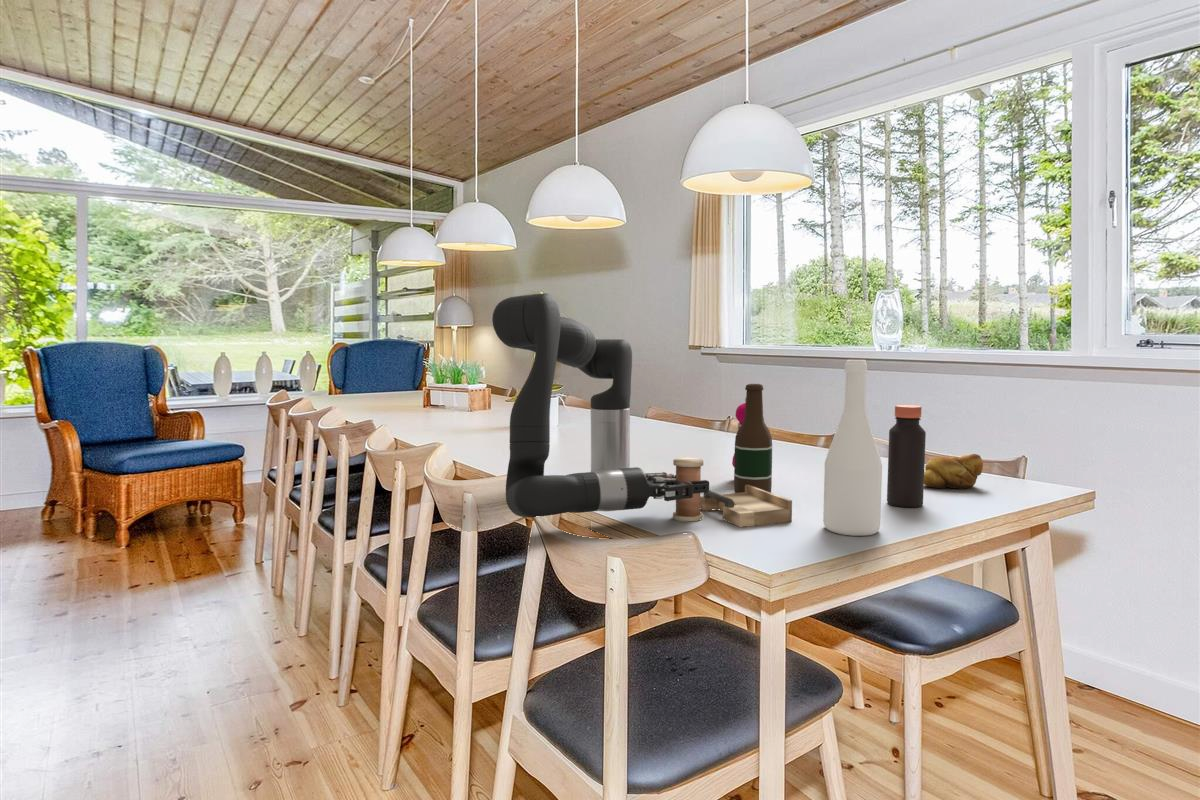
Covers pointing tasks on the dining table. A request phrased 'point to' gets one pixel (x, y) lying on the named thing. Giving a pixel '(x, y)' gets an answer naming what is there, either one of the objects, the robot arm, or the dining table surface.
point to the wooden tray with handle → (749, 506)
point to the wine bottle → (853, 465)
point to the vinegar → (906, 458)
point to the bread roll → (953, 471)
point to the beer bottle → (753, 445)
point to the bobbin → (684, 472)
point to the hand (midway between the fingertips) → (699, 482)
